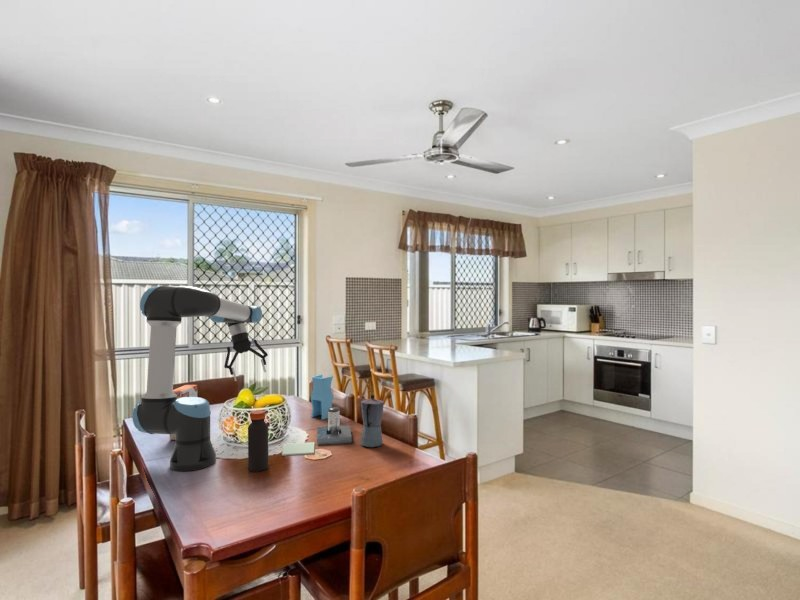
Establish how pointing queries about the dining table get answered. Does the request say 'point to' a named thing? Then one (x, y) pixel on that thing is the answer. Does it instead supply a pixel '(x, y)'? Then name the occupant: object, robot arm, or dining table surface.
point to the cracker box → (184, 392)
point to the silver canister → (333, 420)
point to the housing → (333, 436)
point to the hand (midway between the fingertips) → (250, 376)
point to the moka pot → (372, 422)
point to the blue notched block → (321, 396)
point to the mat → (298, 448)
